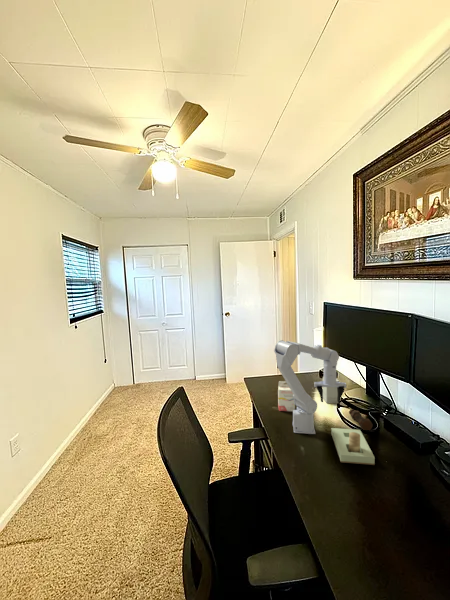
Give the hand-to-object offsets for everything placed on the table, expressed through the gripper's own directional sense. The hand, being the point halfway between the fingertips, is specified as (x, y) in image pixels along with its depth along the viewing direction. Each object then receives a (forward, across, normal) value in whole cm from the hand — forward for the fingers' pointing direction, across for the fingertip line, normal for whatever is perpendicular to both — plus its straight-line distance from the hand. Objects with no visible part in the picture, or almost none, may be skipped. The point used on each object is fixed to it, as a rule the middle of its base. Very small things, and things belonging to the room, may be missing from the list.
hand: (330, 401), depth 143 cm
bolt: (+11, -14, -1) cm, 18 cm away
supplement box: (+11, -4, -26) cm, 28 cm away
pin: (+10, -4, +26) cm, 28 cm away
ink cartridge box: (+10, +20, -12) cm, 26 cm away
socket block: (+10, -4, +21) cm, 24 cm away
